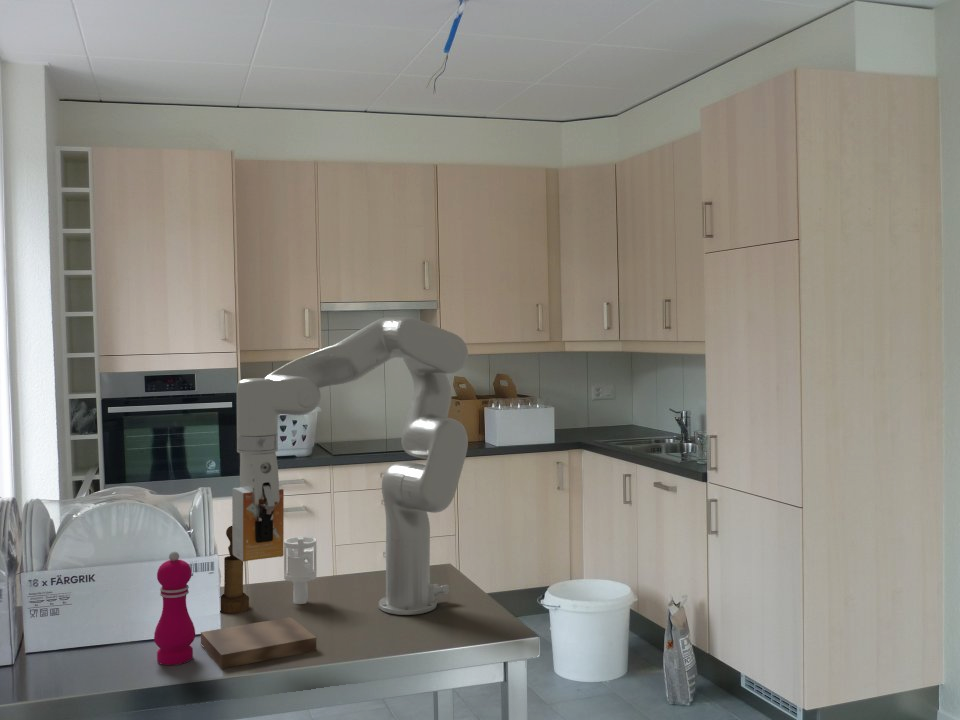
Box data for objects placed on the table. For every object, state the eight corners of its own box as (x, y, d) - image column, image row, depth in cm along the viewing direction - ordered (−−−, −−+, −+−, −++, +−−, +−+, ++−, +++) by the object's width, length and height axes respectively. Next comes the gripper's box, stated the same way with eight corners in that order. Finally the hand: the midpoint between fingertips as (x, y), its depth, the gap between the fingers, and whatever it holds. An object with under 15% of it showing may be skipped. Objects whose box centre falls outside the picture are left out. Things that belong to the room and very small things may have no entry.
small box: (243, 562, 171) (242, 492, 170) (231, 555, 176) (231, 487, 176) (284, 556, 175) (284, 488, 175) (272, 549, 181) (272, 483, 180)
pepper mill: (163, 651, 174) (161, 546, 173) (201, 652, 174) (200, 547, 173) (148, 666, 167) (146, 556, 166) (187, 666, 167) (186, 557, 166)
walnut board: (290, 629, 187) (290, 616, 187) (316, 650, 175) (316, 637, 175) (200, 645, 178) (200, 632, 178) (221, 668, 166) (221, 655, 166)
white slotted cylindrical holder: (284, 607, 201) (284, 539, 200) (283, 598, 208) (283, 532, 207) (317, 605, 202) (317, 538, 202) (315, 596, 209) (315, 530, 208)
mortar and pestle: (253, 610, 199) (253, 527, 198) (224, 615, 196) (223, 531, 195) (242, 602, 205) (242, 521, 204) (213, 607, 201) (213, 525, 200)
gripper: (292, 448, 169) (293, 544, 170) (262, 437, 184) (262, 526, 185) (252, 450, 165) (252, 550, 166) (224, 439, 180) (225, 530, 181)
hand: (258, 536), depth 176 cm, fingers closed on small box, 6 cm apart
